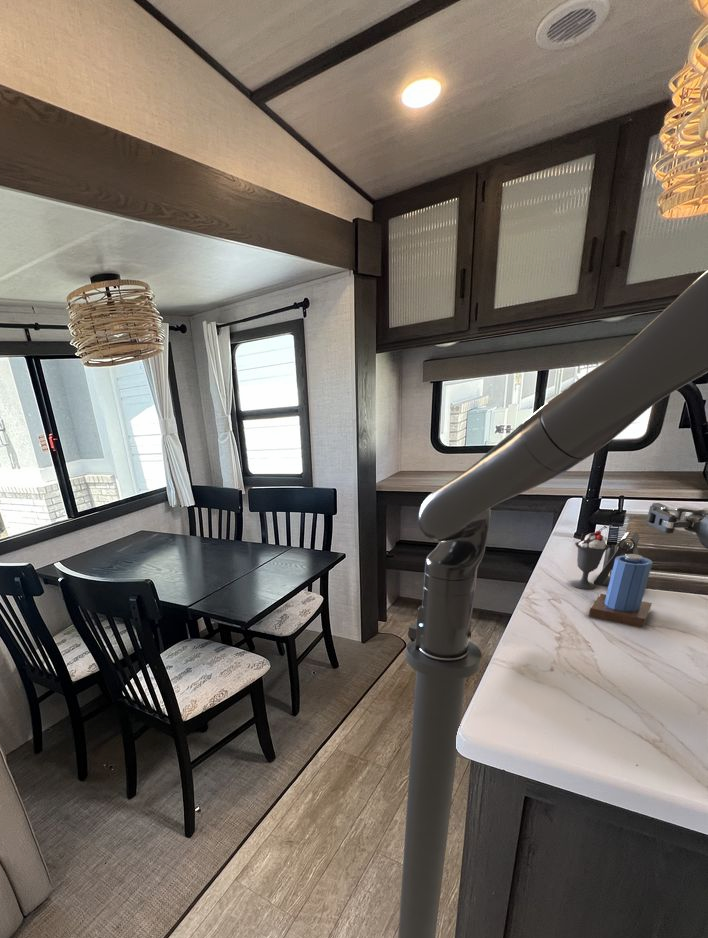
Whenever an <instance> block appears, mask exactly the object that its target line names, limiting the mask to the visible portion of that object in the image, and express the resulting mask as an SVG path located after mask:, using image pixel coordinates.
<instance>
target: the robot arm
mask: <svg viewBox="0 0 708 938" xmlns="http://www.w3.org/2000/svg"><path fill="white" fill-rule="evenodd" d="M707 373H708V269H707V270H706V271H704V272H703V273H702V274H701V275H700V276H698V278H697V279H695V280H694V281H693V282H692V284H690V285H689V286H688V287H686V289H685V290H684V291H683V292H682V293H681V294H680V295H678V297H677V298H675V299H674V301H672V302H671V303H670V304H669V305H668V306H667V307H666V308H665V309H664V310H663V311H662V312H661V313H659V315H657V317H655V319H653V320H652V321H651V322H650V323H649V324H648V325H647V326H646V327H644V329H642V330H641V332H639V333H638V334H637V335H636V336H635V337H634V338H633V339H631V340H630V341H629V342H628V343H627V344H626V345H625V346H623V347H622V348H621V349H620V350H619V351H617V352H616V353H615V354H613V355H612V356H611V357H610V358H608V359H607V360H606V361H604V362H602V363H601V364H600V365H597V367H595V368H593V369H592V370H591V371H589V372H587V373H586V374H585V375H583V376H582V377H580V378H579V379H577V380H576V381H575V382H573V383H572V384H570V385H569V386H568V387H567V388H565V389H564V390H563V391H561V392H560V393H558V394H557V395H555V396H554V397H553V398H552V399H550V400H549V401H548V402H546V403H545V404H544V405H543V406H541V407H540V408H539V409H537V410H536V411H535V412H534V413H532V414H531V415H530V416H529V417H528V418H526V419H525V420H524V421H523V422H522V423H521V424H519V425H518V426H517V427H516V428H515V429H514V430H513V431H512V432H511V433H509V434H508V435H507V436H506V437H504V438H503V439H502V440H501V441H499V442H498V443H497V444H496V445H495V446H493V447H492V448H491V449H490V450H488V452H487V453H485V454H484V455H483V456H482V457H481V458H480V459H478V460H477V461H476V462H475V463H474V464H472V465H471V466H470V467H468V469H466V470H465V471H463V472H462V473H461V474H459V475H458V476H456V477H454V478H453V479H452V480H449V481H448V482H447V483H445V484H444V485H442V486H440V487H439V488H437V489H436V490H433V491H432V492H431V493H429V494H428V495H427V496H426V497H425V498H424V500H423V501H422V503H421V505H420V507H419V510H418V513H417V524H418V528H419V530H420V532H421V533H422V534H423V535H424V536H425V537H427V538H428V539H429V540H433V541H435V542H436V541H437V542H438V544H437V545H436V547H435V548H434V549H433V550H432V551H431V552H430V553H429V554H428V555H427V556H426V558H425V561H424V574H423V575H424V576H423V589H422V602H421V605H420V606H419V607H418V608H417V615H416V621H415V622H414V623H412V624H411V625H410V626H408V630H407V638H408V639H409V641H410V640H411V641H412V642H413V641H415V639H416V644H415V650H418V651H420V652H421V653H422V654H423V655H424V656H426V657H428V658H430V659H433V660H437V661H443V662H454V661H459V660H462V659H464V658H465V657H466V656H467V655H468V647H469V641H471V639H472V632H471V627H472V619H473V611H474V601H475V594H476V584H477V577H478V576H477V575H478V569H479V565H480V564H481V562H482V561H483V558H484V555H485V552H486V545H487V539H488V535H489V529H490V523H491V509H492V508H493V507H495V506H497V505H498V504H500V503H503V502H504V501H507V500H510V499H512V498H514V497H516V496H518V495H521V494H524V493H526V492H529V491H530V490H533V489H534V488H537V487H539V486H541V485H543V484H545V483H547V482H549V481H550V480H553V479H555V478H556V477H559V476H560V475H562V474H564V473H566V472H567V471H569V470H570V469H572V468H574V467H575V466H577V465H578V464H580V463H581V462H583V461H584V460H586V459H587V458H589V457H591V456H592V455H594V454H595V453H596V452H598V451H599V450H601V449H602V448H603V447H604V446H606V445H607V444H609V443H610V442H611V441H612V440H614V439H615V438H616V437H618V436H619V435H620V434H621V433H622V432H624V431H625V430H626V429H627V428H628V427H629V426H630V425H631V424H633V423H634V422H635V421H637V419H638V418H640V417H641V415H643V414H644V413H645V412H646V411H648V410H649V409H650V408H652V407H653V406H654V405H656V404H657V403H658V402H660V401H662V400H663V399H664V398H666V397H668V396H670V395H671V394H672V393H674V392H676V391H677V390H679V389H681V388H683V387H684V386H686V385H688V384H690V383H691V382H693V381H695V380H696V379H698V378H700V377H702V376H704V375H705V374H707ZM687 513H689V515H688V516H687V517H686V515H687ZM645 524H646V525H647V526H649V527H651V528H654V529H656V530H657V531H658V530H659V531H661V532H663V533H666V534H674V533H675V530H676V531H683V532H688V533H691V534H693V535H695V536H697V539H698V541H699V542H700V544H701V545H702V546H703V547H704V548H705V549H706V550H708V507H704V508H698V507H691V506H680V507H677V508H675V507H669V506H667V505H665V504H662V503H660V502H653V503H652V504H651V505H650V506H649V508H648V513H647V519H646V521H645Z"/></svg>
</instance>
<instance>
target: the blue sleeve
mask: <svg viewBox="0 0 708 938" xmlns="http://www.w3.org/2000/svg"><path fill="white" fill-rule="evenodd" d="M625 555H626V554H625ZM625 555H620V556H617V557H616V558H615V561H614V566H613V568H612V570H611V574H610V577H611V578H610V582H609V586H608V587H607V591H606V594H605V595H606V599H605V605H606V606H608V607H609V608H612V609H615V610H620V611H628V612H632V611H637V610H639V609H640V606H641V602H642V601H643V598H644V595H645V591H646V588H647V584H648V581H649V576H650V574H651V571H652V566H653V562H654V561H652V560H651V559H649V558H647V557H644V556H642V557H643V559H642V561H641V562H639V564H633V563H627V562H625V561H626V560H625V559H624V558H625Z"/></svg>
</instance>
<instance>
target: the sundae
mask: <svg viewBox="0 0 708 938" xmlns="http://www.w3.org/2000/svg"><path fill="white" fill-rule="evenodd" d="M607 528H608V526H606V525H603V527H601V528H600V529H599V530H595V532H590V533H588V534H587V533H584V532H583V533H581V536H580V540H579V541H577V542H574V545H575V547H576V548H577V559H576V562H577V564H576V565H577V567H578V568H579V570H580V571H582V575H581V579H580V580H574V581H571V584H570V585H571V586H572V587H574V588H577V589H581V590H593V589H595V588H596V586H597V585H595V584H594V583H593V582H591V581H589V574H590V573H591V572H594V571H595V570H596V569H598V567H599V565H600V564H601V561H602V559H603V556H604V554H605V552H606V551H608V550H609V549H610V547H611V545H610V544H607V543H606V541H605V540H604V539H603V538H604V536H603V535H602V531H603V530H604V529H605V530H606V529H607Z"/></svg>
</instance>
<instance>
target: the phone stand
mask: <svg viewBox="0 0 708 938" xmlns="http://www.w3.org/2000/svg"><path fill="white" fill-rule="evenodd" d="M630 535H631V531H627V532H625V534H624V535H623V536H622V538H621V539H620V540H619V542H618V546H617V549H616V551H615V552H614V554H613V555H612V557H611V558H610V559H609V561H608V562H607V563H606V564H605V566H604V567H603V568H602V569H601V571H600V572H599V573H598V575H597V576H596V578H595V580H594V581H593V582H592V583H593V584H595V586H603V587H607V588H608V586H609V582H610V578H611V576H609V574H610V573H611V572H612V570H613V566H614V561H615V558H616V557H617V556H622V554H625V555H626V554H637V555H640V553H639V549H638V548H639V547H638V543H639V540H640V534H638V532H637V531H636V532H634V533H633V534H632V536H631V538H630V541H631V542H627V541H626V540H627V539H628V537H629V536H630Z"/></svg>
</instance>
